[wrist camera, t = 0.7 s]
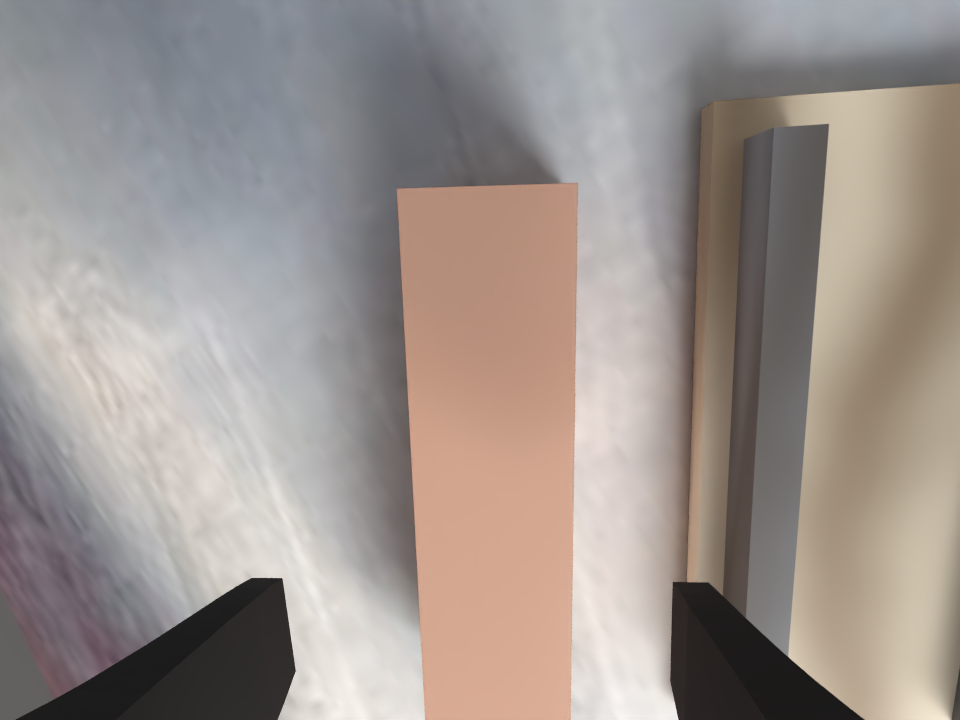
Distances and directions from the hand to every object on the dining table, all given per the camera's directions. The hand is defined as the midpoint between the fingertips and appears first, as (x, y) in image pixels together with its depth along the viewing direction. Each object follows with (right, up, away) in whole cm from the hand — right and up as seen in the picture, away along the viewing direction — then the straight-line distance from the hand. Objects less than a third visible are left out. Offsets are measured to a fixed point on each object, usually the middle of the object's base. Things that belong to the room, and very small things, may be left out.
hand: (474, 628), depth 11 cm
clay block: (+1, +2, +9) cm, 9 cm away
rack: (+12, +2, +7) cm, 14 cm away
